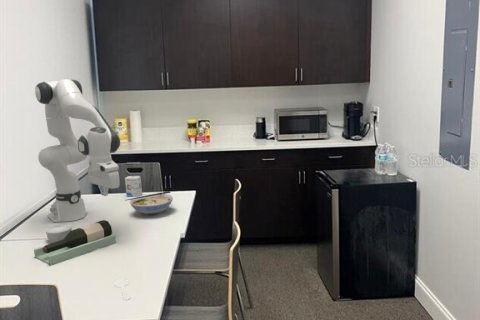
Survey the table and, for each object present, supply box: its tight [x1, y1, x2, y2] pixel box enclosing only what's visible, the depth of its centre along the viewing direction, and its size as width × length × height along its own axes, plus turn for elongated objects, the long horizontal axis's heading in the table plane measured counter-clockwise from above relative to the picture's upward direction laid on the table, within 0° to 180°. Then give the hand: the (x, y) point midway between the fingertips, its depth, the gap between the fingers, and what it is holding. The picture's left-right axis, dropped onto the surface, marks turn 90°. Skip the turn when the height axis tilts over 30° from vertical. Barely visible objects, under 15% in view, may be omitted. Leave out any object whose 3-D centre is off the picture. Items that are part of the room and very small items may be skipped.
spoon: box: [113, 277, 131, 301], centre depth 163 cm, size 5×18×1 cm, turn 22°
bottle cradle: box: [33, 234, 117, 266], centre depth 202 cm, size 14×30×4 cm, turn 137°
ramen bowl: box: [126, 190, 174, 216], centre depth 249 cm, size 25×23×8 cm
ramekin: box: [45, 224, 73, 243], centre depth 216 cm, size 11×11×5 cm
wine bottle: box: [42, 219, 113, 253], centre depth 202 cm, size 8×8×30 cm
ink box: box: [124, 175, 143, 198], centre depth 286 cm, size 9×5×12 cm, turn 81°
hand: (104, 195), depth 210 cm, fingers closed
